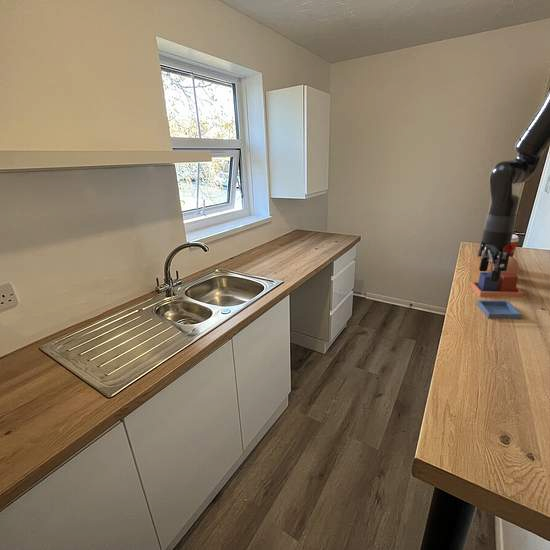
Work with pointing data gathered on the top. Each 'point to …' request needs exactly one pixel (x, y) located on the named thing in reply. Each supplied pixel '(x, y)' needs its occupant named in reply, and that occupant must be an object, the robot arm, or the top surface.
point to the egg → (512, 266)
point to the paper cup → (510, 246)
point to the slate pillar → (486, 282)
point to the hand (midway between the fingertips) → (488, 275)
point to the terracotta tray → (496, 294)
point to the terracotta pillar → (507, 282)
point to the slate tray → (498, 309)
